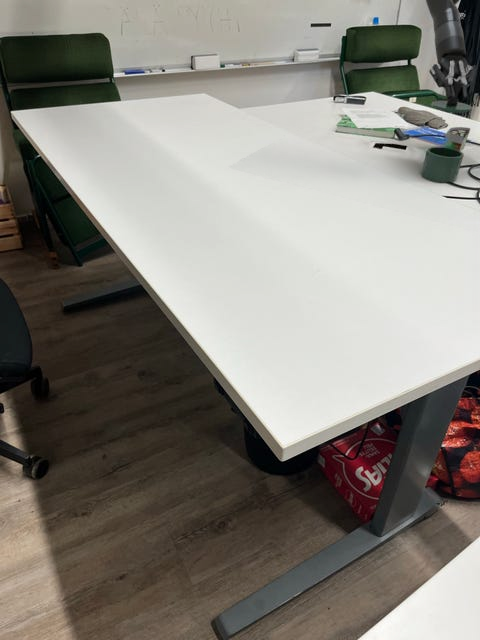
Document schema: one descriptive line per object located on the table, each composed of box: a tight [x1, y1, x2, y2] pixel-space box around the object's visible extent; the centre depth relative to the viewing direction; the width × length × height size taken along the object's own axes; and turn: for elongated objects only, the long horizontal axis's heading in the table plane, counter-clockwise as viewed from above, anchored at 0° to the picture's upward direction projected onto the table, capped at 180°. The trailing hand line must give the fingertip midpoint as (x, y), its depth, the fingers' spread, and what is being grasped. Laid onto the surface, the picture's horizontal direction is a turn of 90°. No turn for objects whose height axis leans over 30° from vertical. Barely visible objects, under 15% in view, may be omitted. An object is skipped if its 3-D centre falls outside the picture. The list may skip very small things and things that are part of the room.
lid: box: [430, 80, 473, 114], centre depth 136 cm, size 11×11×7 cm
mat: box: [372, 142, 408, 151], centre depth 170 cm, size 11×11×1 cm
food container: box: [444, 126, 471, 152], centre depth 155 cm, size 12×6×10 cm, turn 149°
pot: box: [420, 146, 464, 184], centre depth 145 cm, size 10×10×7 cm
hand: (457, 99), depth 135 cm, fingers closed on lid, 3 cm apart
